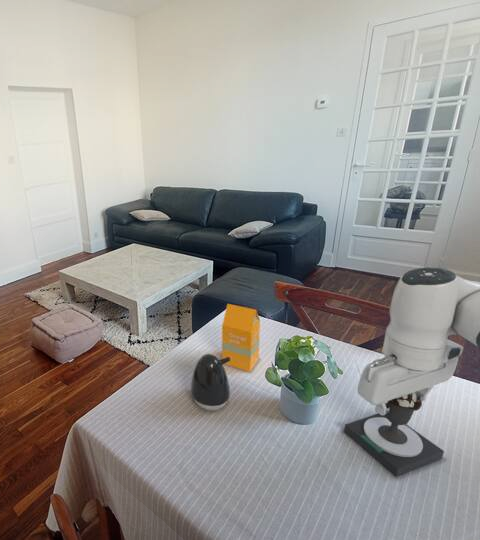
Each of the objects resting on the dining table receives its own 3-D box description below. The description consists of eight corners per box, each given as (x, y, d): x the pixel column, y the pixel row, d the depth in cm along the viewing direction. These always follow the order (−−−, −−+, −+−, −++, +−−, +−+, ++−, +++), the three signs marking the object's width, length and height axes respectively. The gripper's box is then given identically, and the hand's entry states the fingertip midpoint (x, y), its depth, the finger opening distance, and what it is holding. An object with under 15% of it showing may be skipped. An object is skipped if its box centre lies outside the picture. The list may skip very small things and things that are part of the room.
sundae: (410, 428, 73) (423, 372, 68) (414, 452, 68) (429, 393, 63) (372, 418, 77) (382, 364, 72) (374, 440, 72) (384, 383, 67)
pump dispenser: (235, 415, 87) (236, 367, 81) (194, 418, 87) (192, 369, 82) (225, 388, 96) (225, 343, 91) (188, 391, 97) (186, 346, 92)
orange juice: (250, 374, 101) (252, 315, 94) (221, 365, 106) (221, 308, 99) (258, 360, 106) (261, 304, 99) (231, 352, 112) (231, 298, 105)
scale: (384, 420, 81) (387, 408, 79) (441, 461, 70) (445, 448, 68) (343, 434, 78) (345, 422, 77) (395, 480, 67) (398, 466, 66)
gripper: (385, 372, 60) (373, 431, 65) (470, 345, 64) (454, 403, 69) (353, 353, 66) (345, 409, 71) (434, 330, 70) (421, 384, 75)
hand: (399, 406), depth 70 cm, fingers open, 8 cm apart
